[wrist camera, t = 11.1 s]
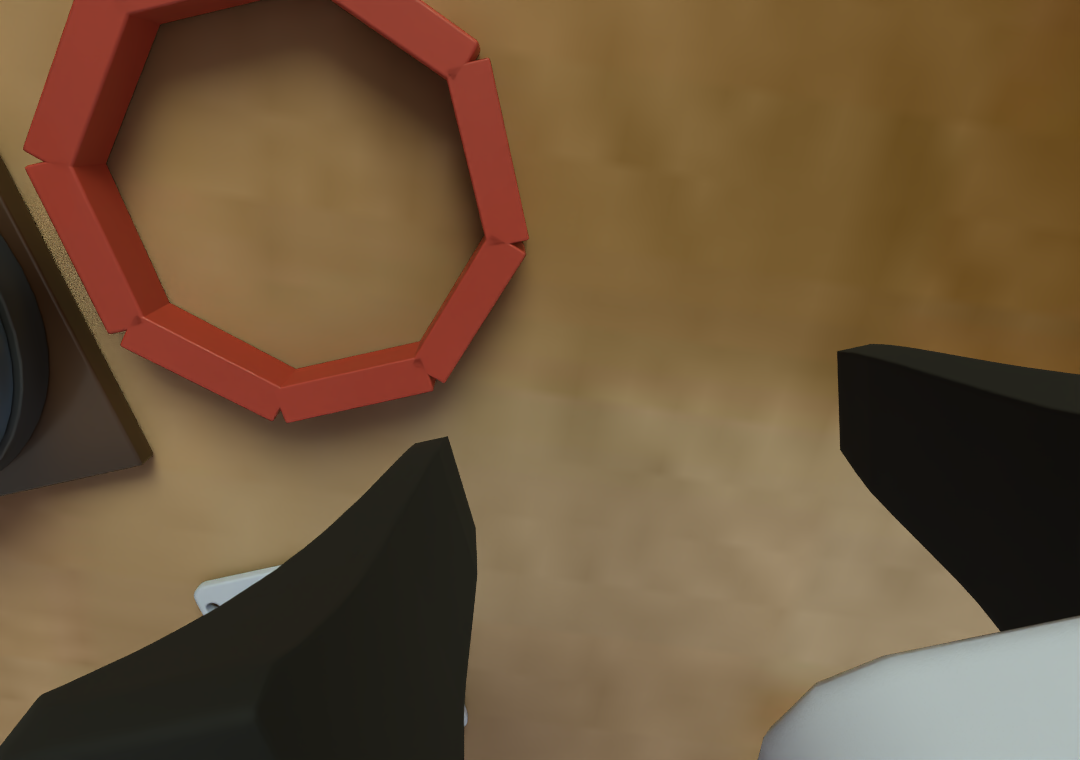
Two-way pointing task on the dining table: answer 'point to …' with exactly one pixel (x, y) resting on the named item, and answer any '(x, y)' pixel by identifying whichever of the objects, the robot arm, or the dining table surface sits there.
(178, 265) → the dining table surface
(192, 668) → the robot arm
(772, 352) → the dining table surface
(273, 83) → the dining table surface
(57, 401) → the stand
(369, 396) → the brick ring
